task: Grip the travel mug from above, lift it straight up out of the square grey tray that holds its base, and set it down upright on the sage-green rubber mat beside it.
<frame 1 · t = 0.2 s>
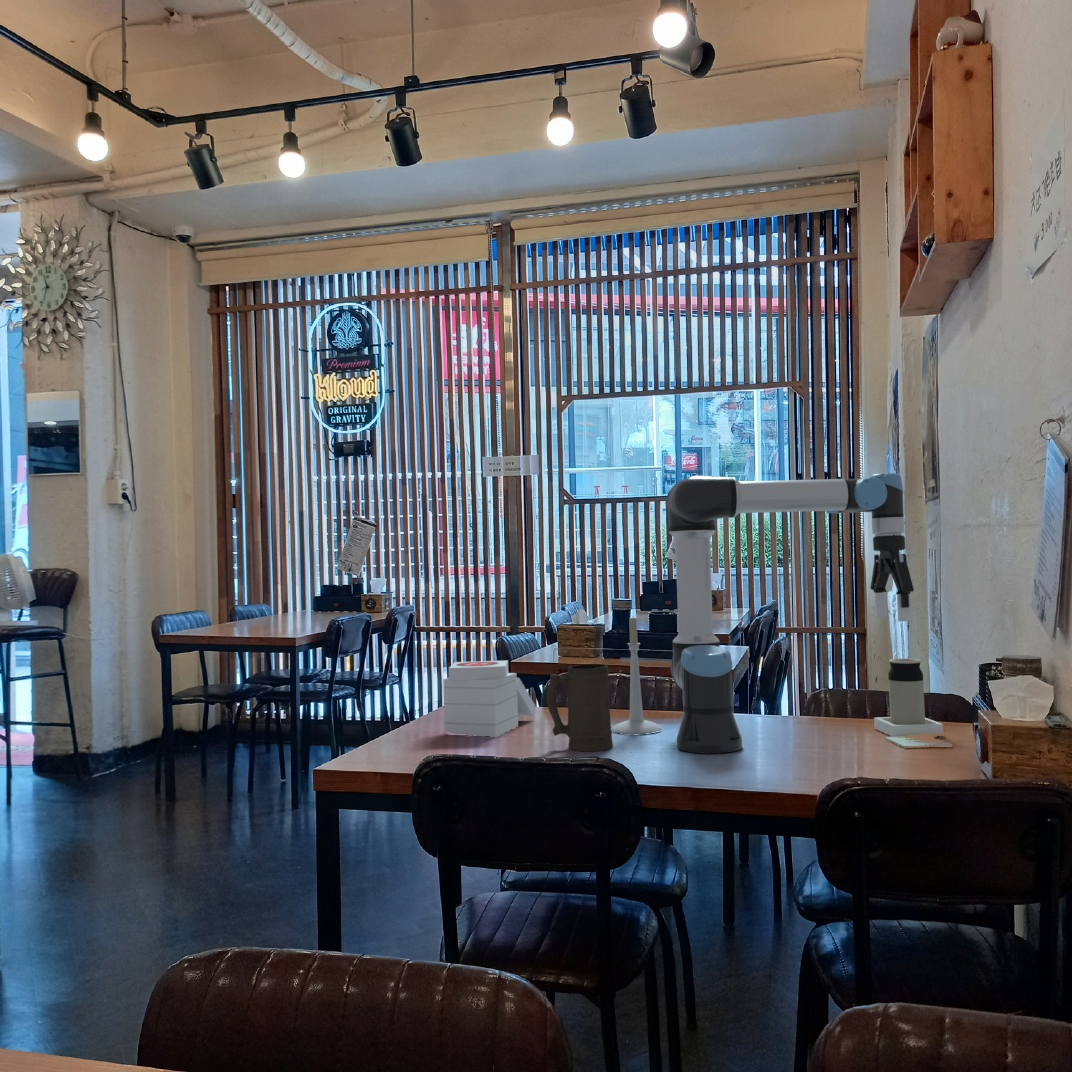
hand: (892, 619, 231), 28 cm above the table, tool pointing down, fingers open, 13 cm apart
square grey tray: (908, 733, 227), on the table
candlestick: (636, 731, 242), on the table
mat: (917, 743, 215), on the table
beer stein: (581, 748, 222), on the table
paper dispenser: (489, 728, 253), on the table
travel mug: (908, 733, 227), resting in square grey tray
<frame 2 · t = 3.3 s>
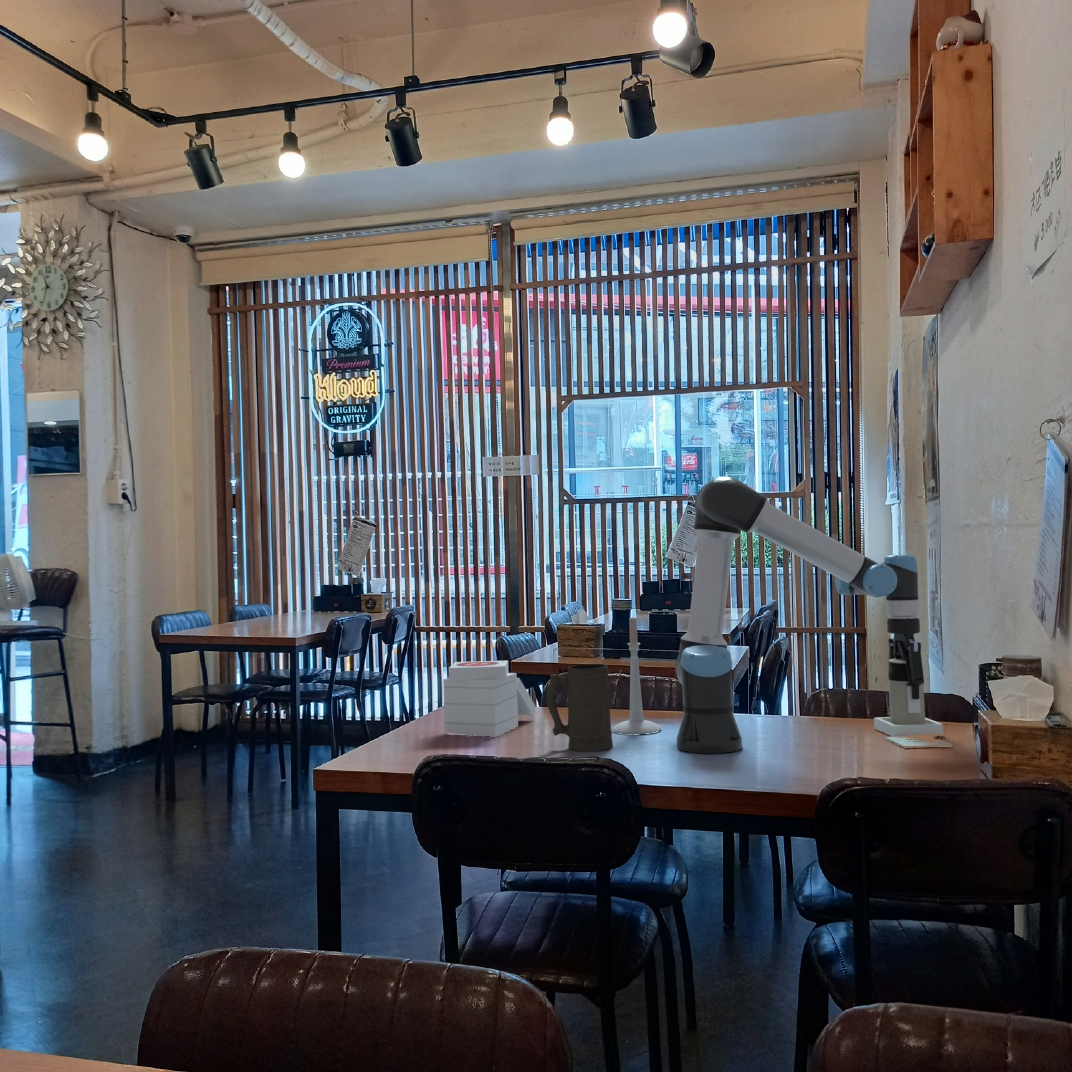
hand: (907, 709, 228), 6 cm above the table, tool pointing down, fingers closed on travel mug, 8 cm apart
travel mug: (908, 733, 227), resting in square grey tray, touching gripper
everything else where it was.
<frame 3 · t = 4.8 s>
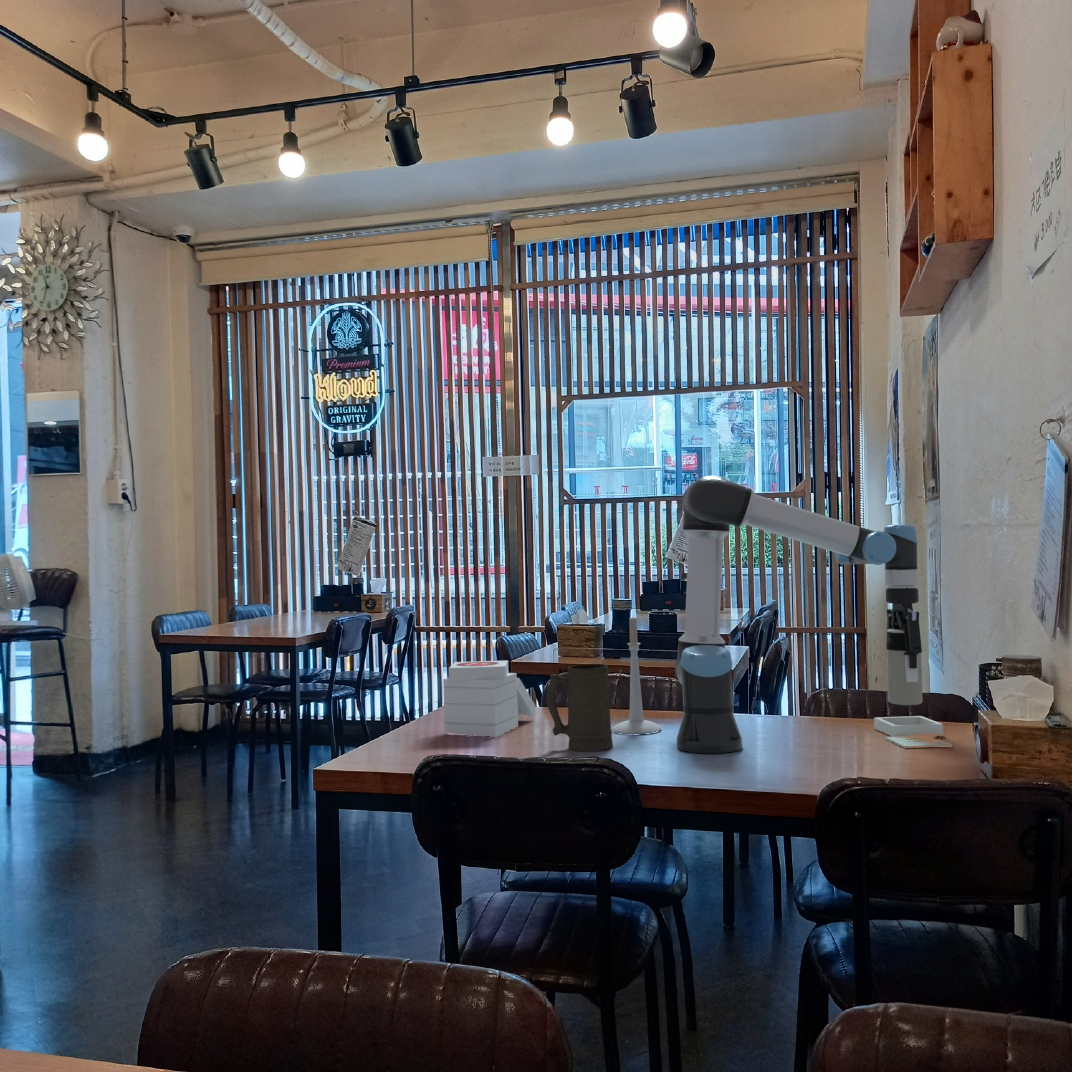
hand: (904, 679, 228), 13 cm above the table, tool pointing down, fingers closed on travel mug, 8 cm apart
travel mug: (905, 703, 228), point 7 cm above the table, touching gripper
everything else where it was.
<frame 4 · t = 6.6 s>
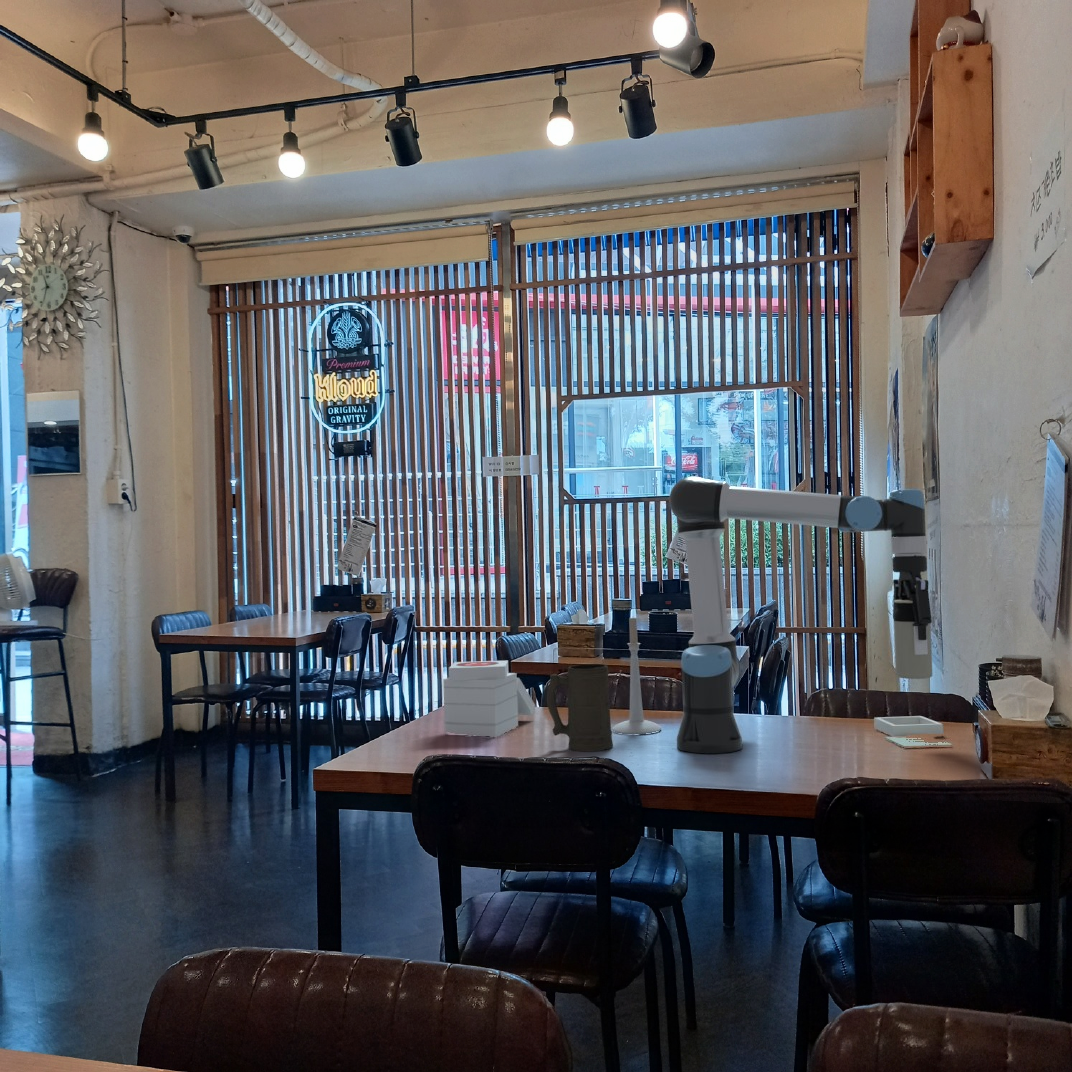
hand: (912, 652, 216), 21 cm above the table, tool pointing down, fingers closed on travel mug, 8 cm apart
travel mug: (914, 677, 216), point 15 cm above the table, touching gripper
everything else where it was.
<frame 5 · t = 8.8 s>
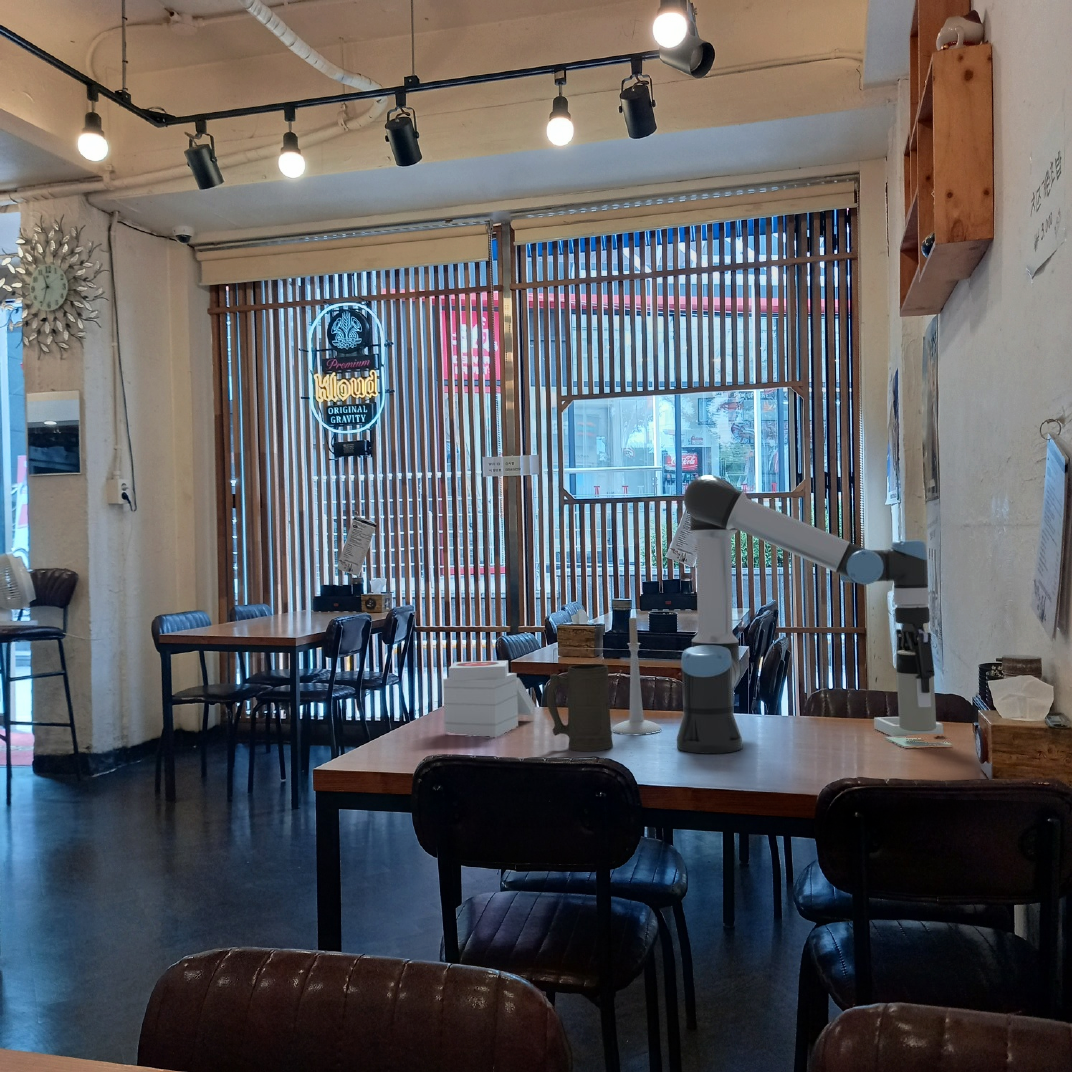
hand: (916, 703, 215), 9 cm above the table, tool pointing down, fingers closed on travel mug, 8 cm apart
travel mug: (917, 729, 215), point 3 cm above the table, touching gripper
everything else where it was.
when the fingers open (8 cm above the table, at t = 10.0 s): travel mug drops 1 cm, resting on mat.
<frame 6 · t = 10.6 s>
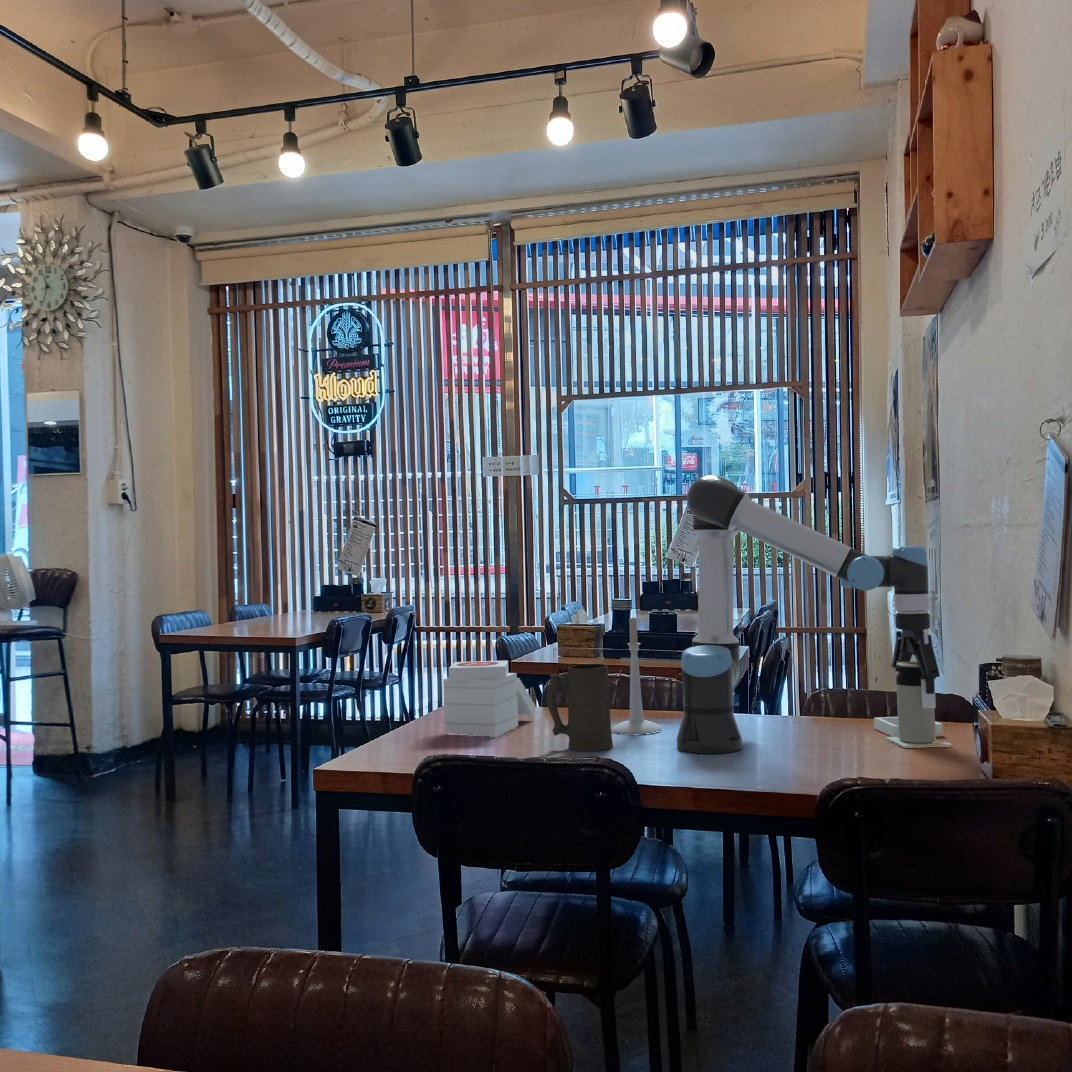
hand: (916, 703, 215), 9 cm above the table, tool pointing down, fingers open, 13 cm apart
travel mug: (917, 741, 215), resting on mat
everything else where it was.
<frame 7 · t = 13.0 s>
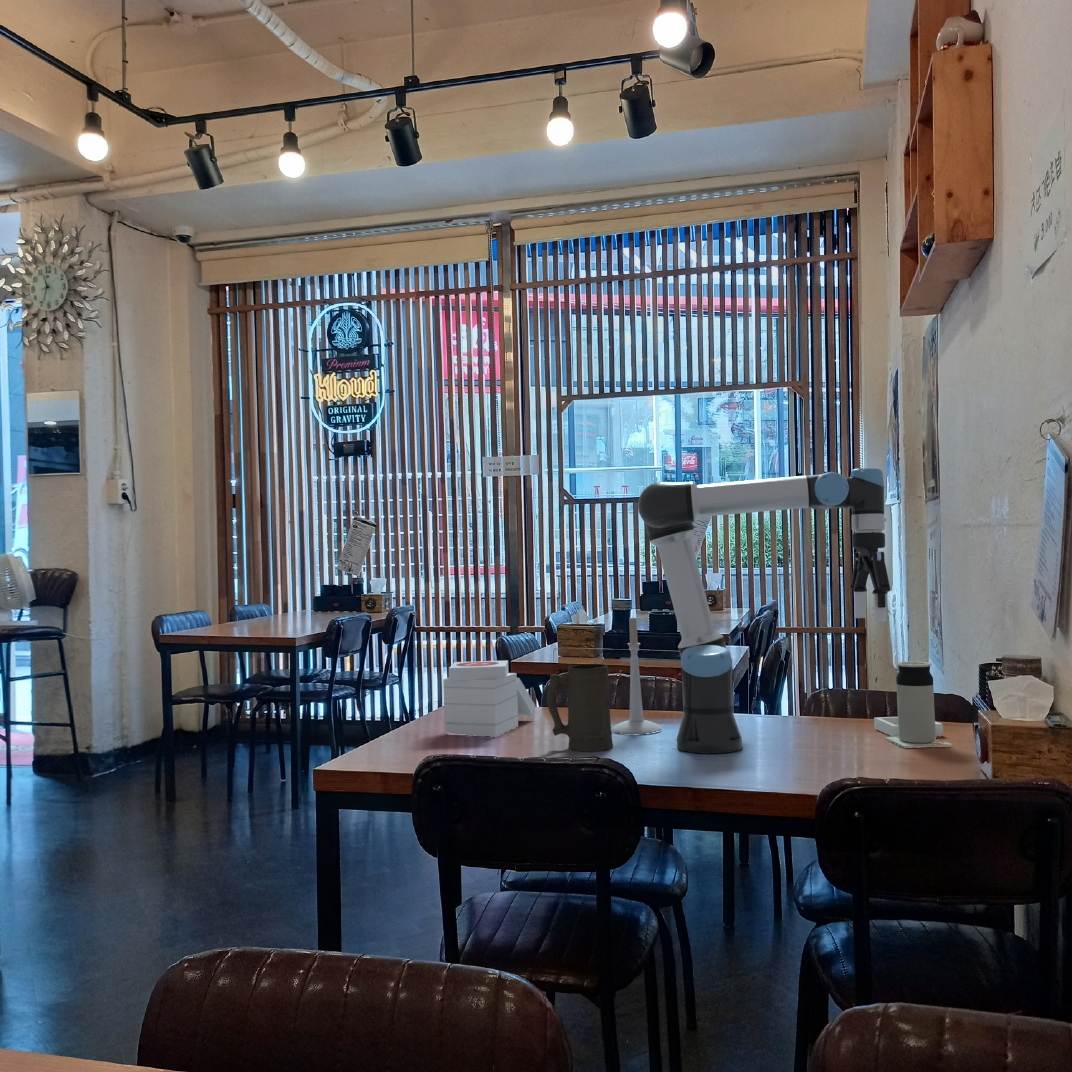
hand: (870, 619, 223), 28 cm above the table, tool pointing down, fingers open, 13 cm apart
nothing on the table moved.
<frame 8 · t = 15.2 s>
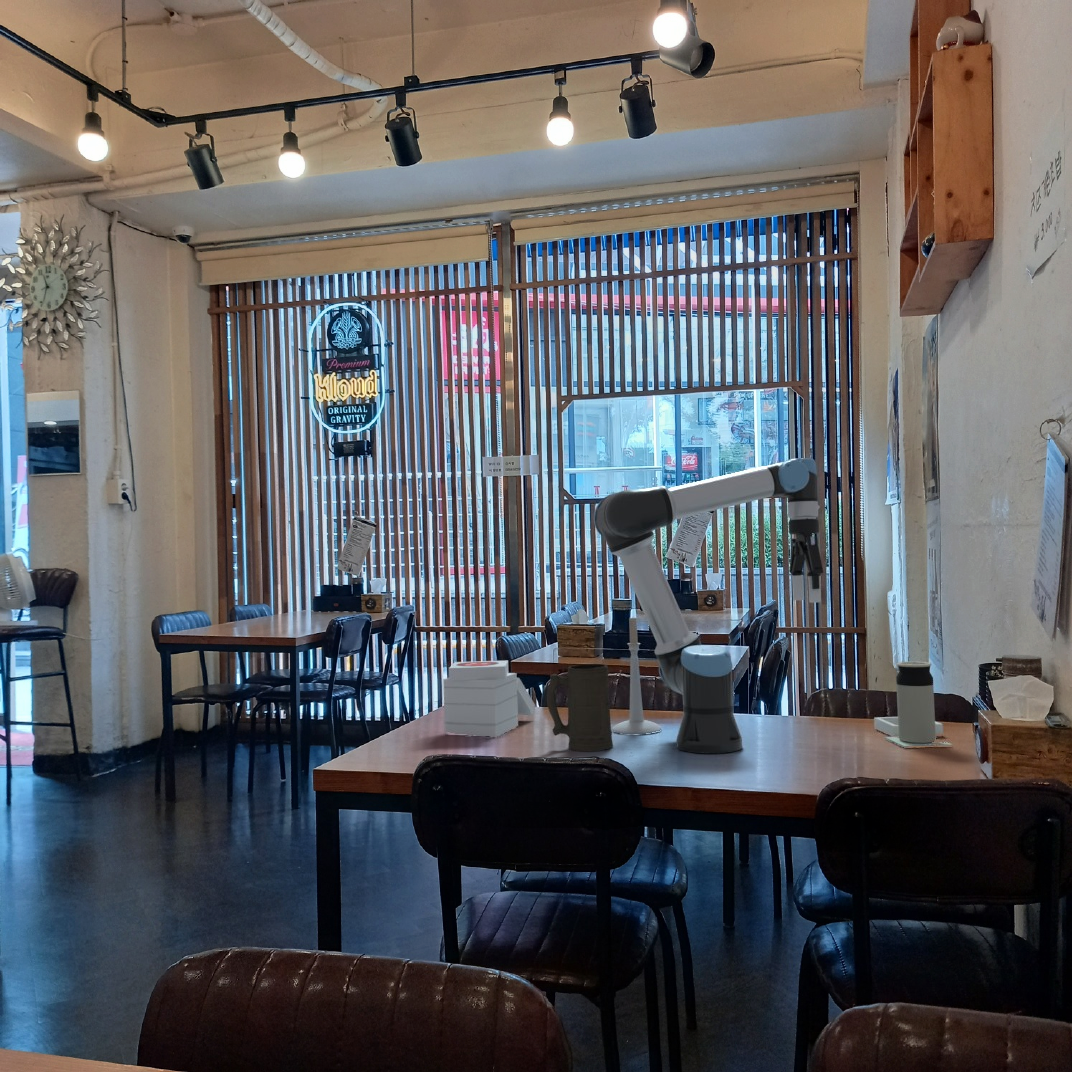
hand: (806, 601, 237), 33 cm above the table, tool pointing down, fingers open, 13 cm apart
nothing on the table moved.
at the end: travel mug inside the target area on the mat (0.1 cm from its centre), point 0.4 cm above the mat's base; travel mug tilted 0°; the gripper is holding nothing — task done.
